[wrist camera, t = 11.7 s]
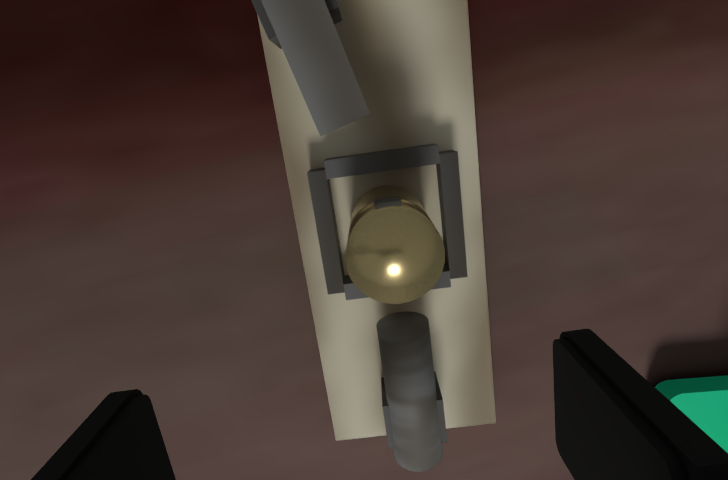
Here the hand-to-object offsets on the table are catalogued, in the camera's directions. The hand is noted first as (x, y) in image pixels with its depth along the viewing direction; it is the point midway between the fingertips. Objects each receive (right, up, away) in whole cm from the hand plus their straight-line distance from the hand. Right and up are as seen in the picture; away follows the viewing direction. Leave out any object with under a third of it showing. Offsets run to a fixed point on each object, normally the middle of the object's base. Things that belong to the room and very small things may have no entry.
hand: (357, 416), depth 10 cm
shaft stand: (+2, +6, +18) cm, 19 cm away
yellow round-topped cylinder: (+2, +5, +16) cm, 17 cm away
